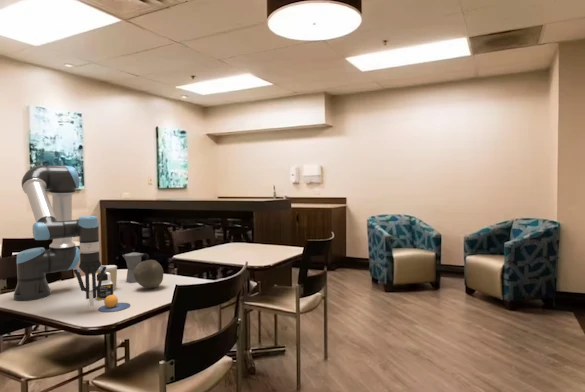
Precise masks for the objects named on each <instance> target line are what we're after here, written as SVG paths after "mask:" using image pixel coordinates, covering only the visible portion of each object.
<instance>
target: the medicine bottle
mask: <svg viewBox="0 0 585 392" xmlns="http://www.w3.org/2000/svg"><path fill="white" fill-rule="evenodd" d="M99 278H100V273H98V272H97V273H96V286H98V282H99ZM109 295H114V290H113V283H112V282H111V275H110V273H109V272H104V274H103V278H102V283H101V287H100V289H98V290H96V298H95V299H96V300H97V301H102V300H105V298H106V297H107V296H109Z"/></svg>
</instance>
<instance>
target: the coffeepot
mask: <svg viewBox="0 0 585 392" xmlns="http://www.w3.org/2000/svg"><path fill="white" fill-rule="evenodd" d="M121 256H122V257H123V258H124V260H125V262H126V263H125V264H126V267H127V272H126V281H125V282H126V283H128V284H131V283H132V284H134V283H137V281H136V279H135V277H134V270H135V268H136V266H137V265H138V264H139V263H140V262H142V258H143V257H145V260H144V261H146V260H150V255H149V254H148V253H147V252H144V253H142V252H141V253H140V252H136V249H135V248H133V249H131V252H130V253H125V254H122V255H121Z"/></svg>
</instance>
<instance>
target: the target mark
mask: <svg viewBox="0 0 585 392" xmlns="http://www.w3.org/2000/svg"><path fill="white" fill-rule="evenodd" d="M130 307H131V304H130V303H129V302H118V303H117V305H116V306H115V307H112V308H108V307H106V306H105V304H104V305H101V306H99V307H98V309H97V310H98V312H101V313H114V312H121V311H124V310H126V309H128V308H130Z"/></svg>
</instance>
